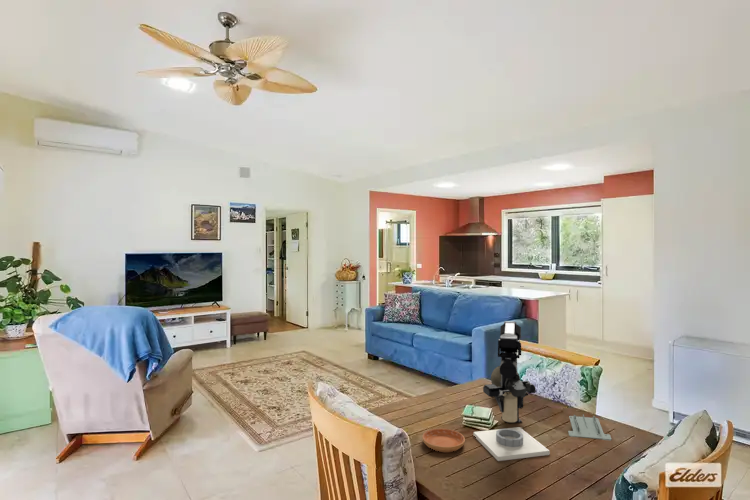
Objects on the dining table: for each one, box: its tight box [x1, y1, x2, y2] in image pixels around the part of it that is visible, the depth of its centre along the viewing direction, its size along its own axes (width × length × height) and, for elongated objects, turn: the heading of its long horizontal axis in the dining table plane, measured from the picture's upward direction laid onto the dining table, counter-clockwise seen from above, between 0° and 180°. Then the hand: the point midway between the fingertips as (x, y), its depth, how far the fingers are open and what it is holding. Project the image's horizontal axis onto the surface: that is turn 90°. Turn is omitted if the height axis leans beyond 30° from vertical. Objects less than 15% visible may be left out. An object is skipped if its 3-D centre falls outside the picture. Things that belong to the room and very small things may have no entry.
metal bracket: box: [567, 414, 612, 441], centre depth 168 cm, size 14×6×15 cm
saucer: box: [421, 428, 466, 453], centre depth 159 cm, size 16×16×3 cm
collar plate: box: [473, 426, 551, 462], centre depth 158 cm, size 20×20×4 cm
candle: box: [501, 392, 517, 423], centre depth 158 cm, size 6×6×10 cm
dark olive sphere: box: [490, 365, 521, 387], centre depth 209 cm, size 14×14×15 cm
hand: (509, 411), depth 158 cm, fingers closed on candle, 5 cm apart
